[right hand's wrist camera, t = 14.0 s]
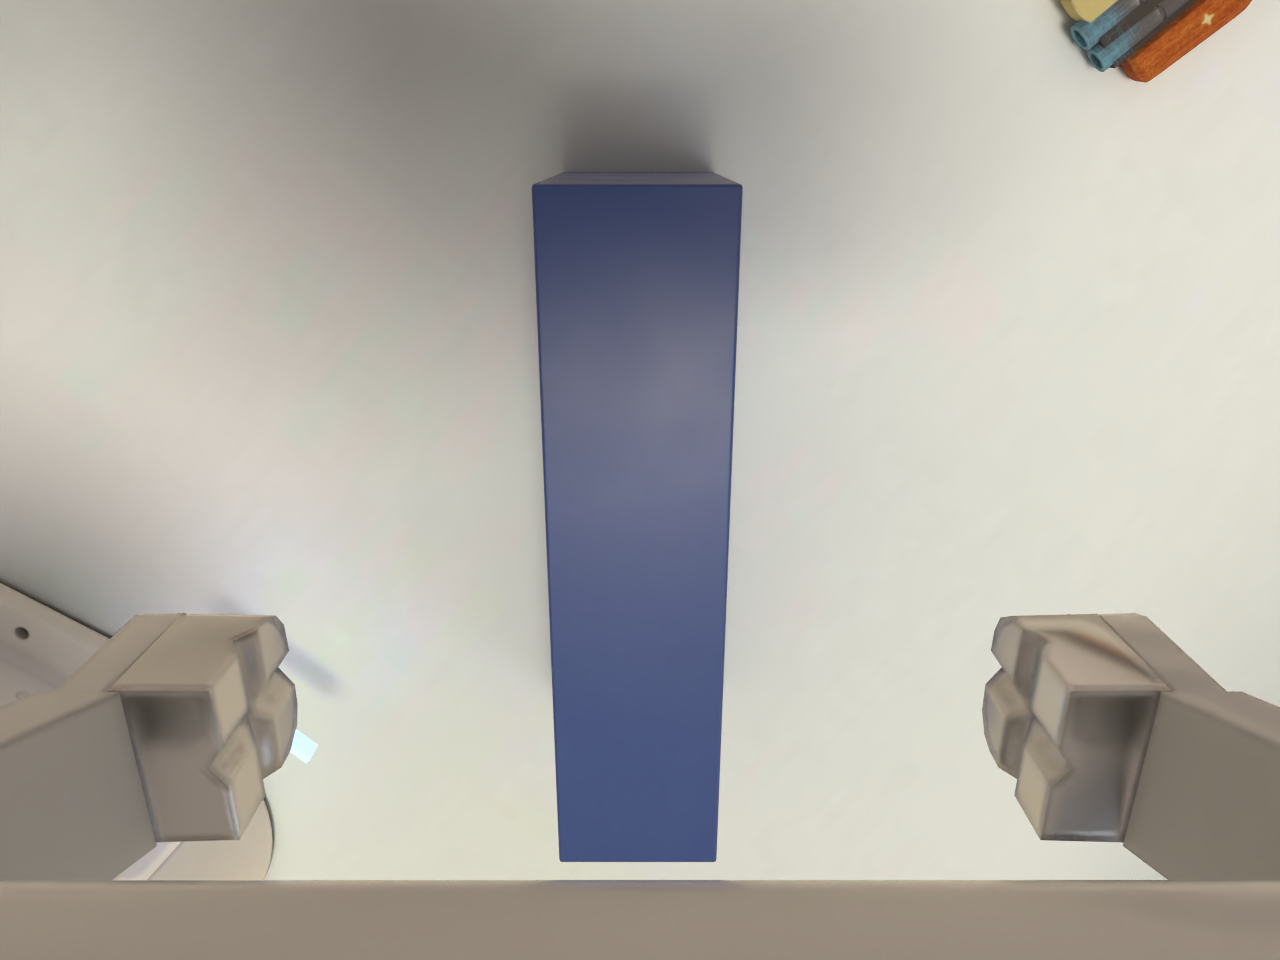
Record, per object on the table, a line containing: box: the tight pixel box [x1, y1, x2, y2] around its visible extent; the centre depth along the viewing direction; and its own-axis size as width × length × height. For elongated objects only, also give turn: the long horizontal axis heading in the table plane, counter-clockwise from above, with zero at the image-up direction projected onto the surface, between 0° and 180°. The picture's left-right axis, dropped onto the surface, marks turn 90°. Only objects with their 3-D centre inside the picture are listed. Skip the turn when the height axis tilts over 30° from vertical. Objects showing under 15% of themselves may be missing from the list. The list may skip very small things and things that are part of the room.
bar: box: [532, 172, 743, 862], centre depth 32 cm, size 23×6×10 cm, turn 0°
